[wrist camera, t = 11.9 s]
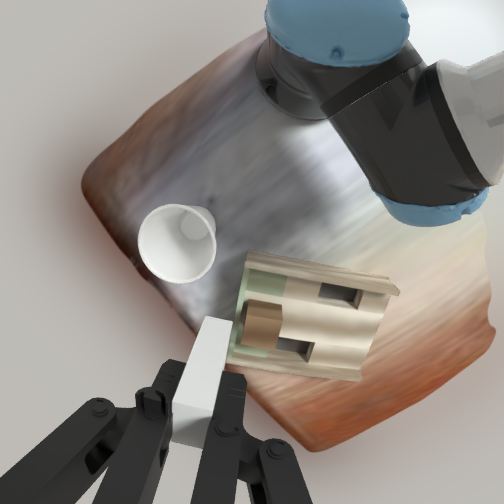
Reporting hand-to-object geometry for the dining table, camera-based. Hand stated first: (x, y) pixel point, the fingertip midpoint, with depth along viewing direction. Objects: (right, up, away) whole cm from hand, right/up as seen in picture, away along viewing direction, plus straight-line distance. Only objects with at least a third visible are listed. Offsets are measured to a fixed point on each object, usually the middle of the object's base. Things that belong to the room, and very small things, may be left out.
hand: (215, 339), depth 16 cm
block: (+4, -5, +30) cm, 31 cm away
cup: (-6, +9, +30) cm, 32 cm away
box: (+11, -5, +33) cm, 35 cm away
